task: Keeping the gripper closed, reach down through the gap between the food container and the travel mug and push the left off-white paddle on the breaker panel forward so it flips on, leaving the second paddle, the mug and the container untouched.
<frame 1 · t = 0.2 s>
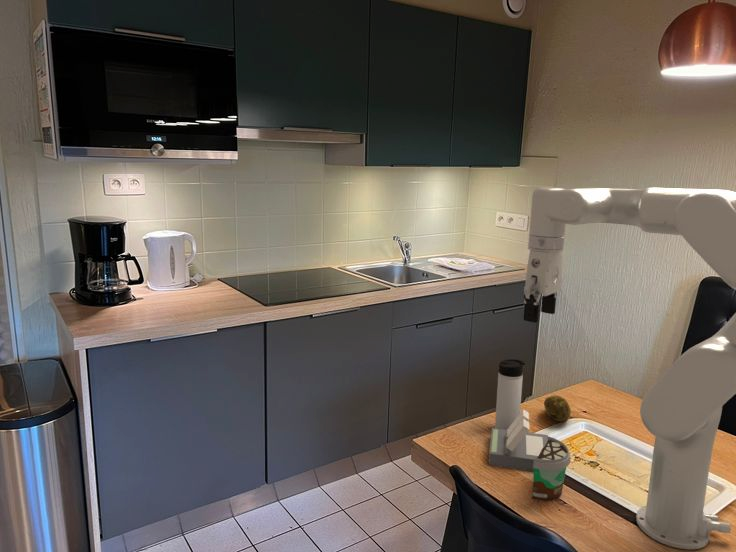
hand: (539, 317, 125), 36 cm above the table, tool pointing down, fingers open, 9 cm apart
potato: (556, 420, 154), on the table
breaker panel: (519, 455, 135), on the table
travel mug: (507, 432, 147), on the table
paddle off: (516, 437, 129), point 7 cm above the table, hinge at -30.0°
paddle on: (516, 426, 135), point 7 cm above the table, hinge at -30.0°
food container: (552, 493, 119), on the table
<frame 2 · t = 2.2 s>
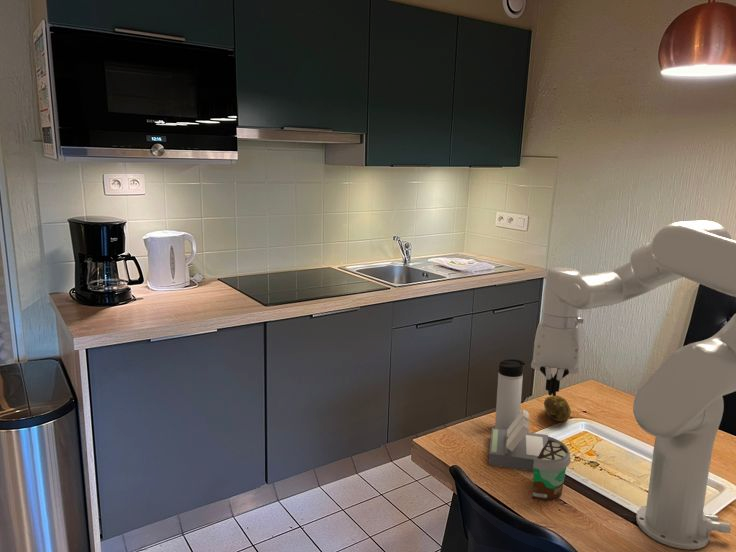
hand: (551, 393, 131), 16 cm above the table, tool pointing down, fingers closed
nothing on the table moved.
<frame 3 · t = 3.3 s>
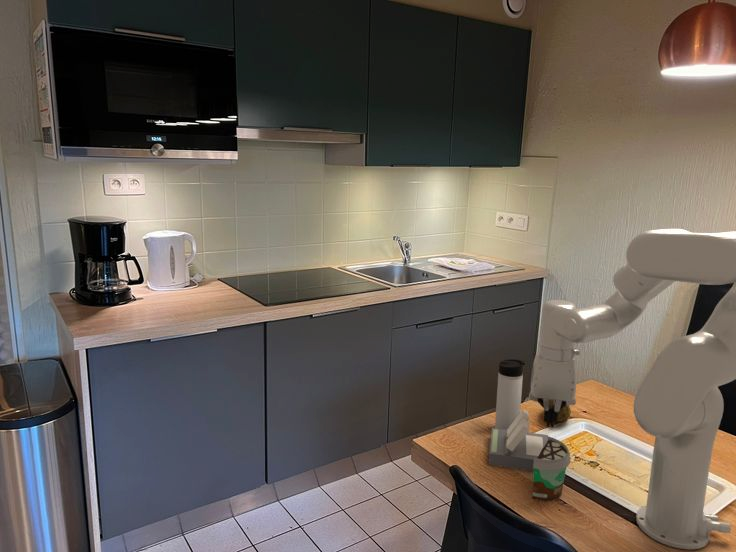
hand: (549, 424, 132), 9 cm above the table, tool pointing down, fingers closed
nothing on the table moved.
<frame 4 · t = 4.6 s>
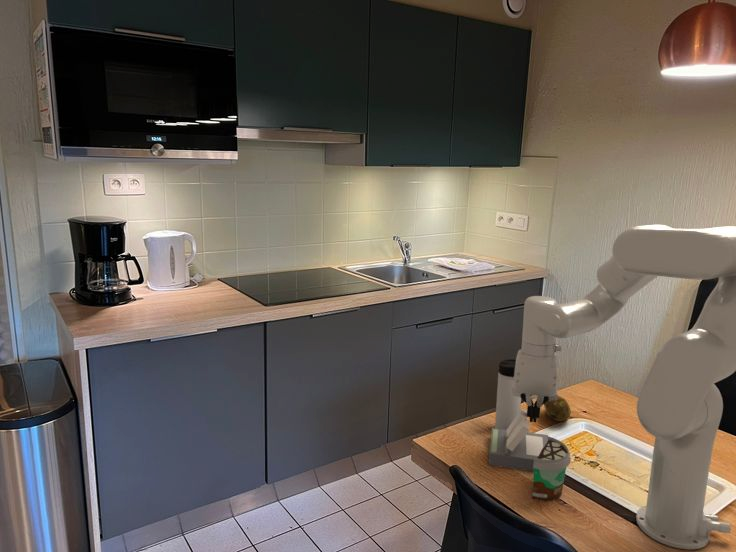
hand: (532, 419, 133), 9 cm above the table, tool pointing down, fingers closed
paddle on: (515, 426, 135), point 7 cm above the table, hinge at -26.3°, touching gripper
everything else where it was.
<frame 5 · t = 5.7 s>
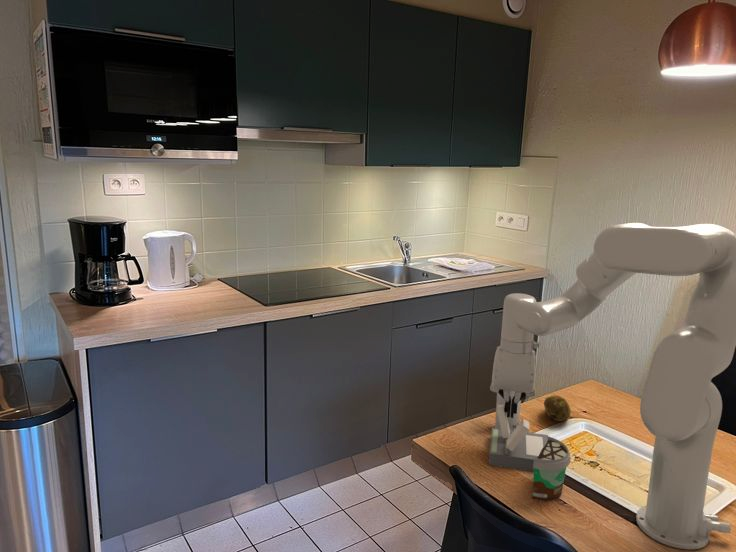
hand: (510, 415, 135), 9 cm above the table, tool pointing down, fingers closed
paddle on: (504, 423, 135), point 7 cm above the table, hinge at 15.4°, touching gripper
everything else where it was.
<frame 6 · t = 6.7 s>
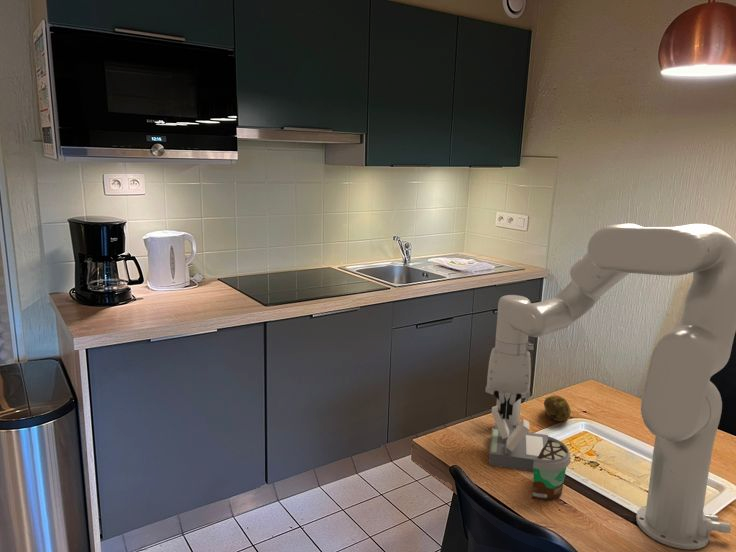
hand: (505, 416, 135), 9 cm above the table, tool pointing down, fingers closed
paddle on: (501, 424, 136), point 7 cm above the table, hinge at 25.6°, touching gripper
everything else where it was.
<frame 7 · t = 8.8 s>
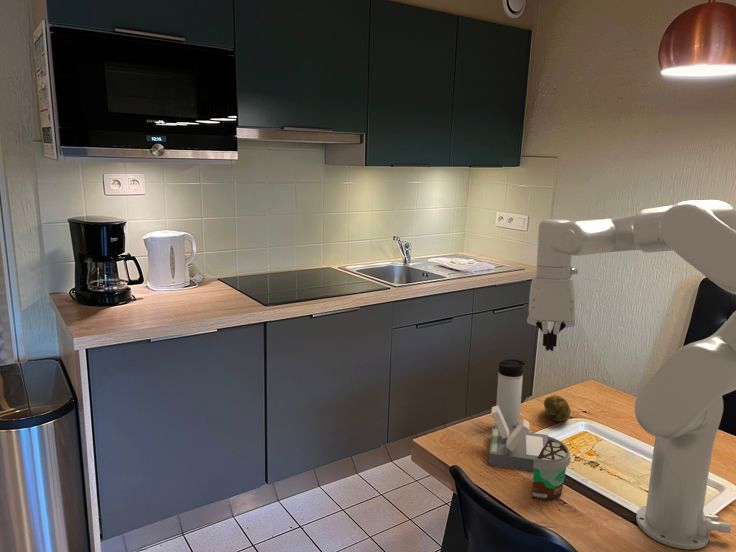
hand: (549, 349, 129), 28 cm above the table, tool pointing down, fingers closed
paddle on: (501, 424, 136), point 7 cm above the table, hinge at 25.8°
everything else where it was.
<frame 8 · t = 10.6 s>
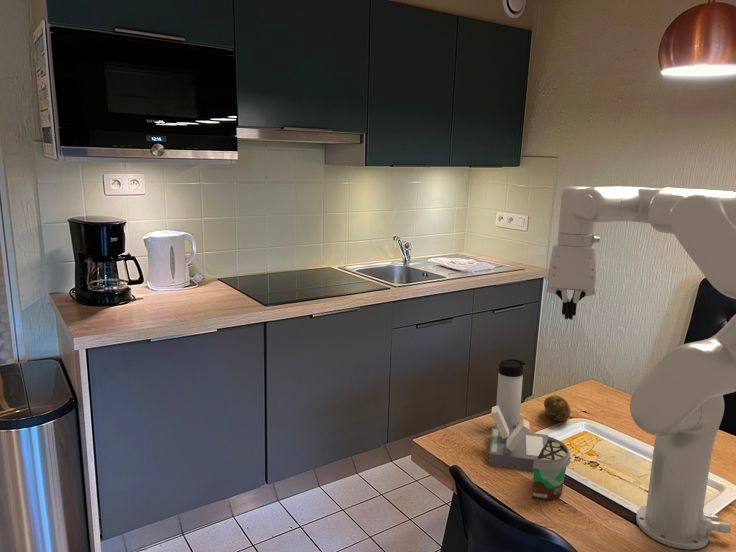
hand: (568, 317, 129), 35 cm above the table, tool pointing down, fingers closed
nothing on the table moved.
at the end: paddle on at +26° (first picture: -30°); paddle off at -30° (first picture: -30°); food container moved 0.2 cm from its start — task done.
